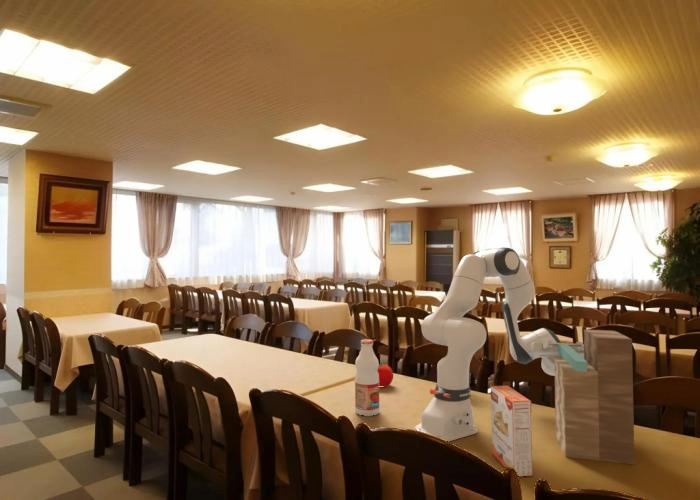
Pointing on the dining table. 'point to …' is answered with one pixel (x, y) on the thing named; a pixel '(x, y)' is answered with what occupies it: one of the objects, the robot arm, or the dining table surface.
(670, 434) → the dining table surface
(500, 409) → the cracker box
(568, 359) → the teal bar
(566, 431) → the step stand
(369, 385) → the fruit juice
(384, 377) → the tomato
